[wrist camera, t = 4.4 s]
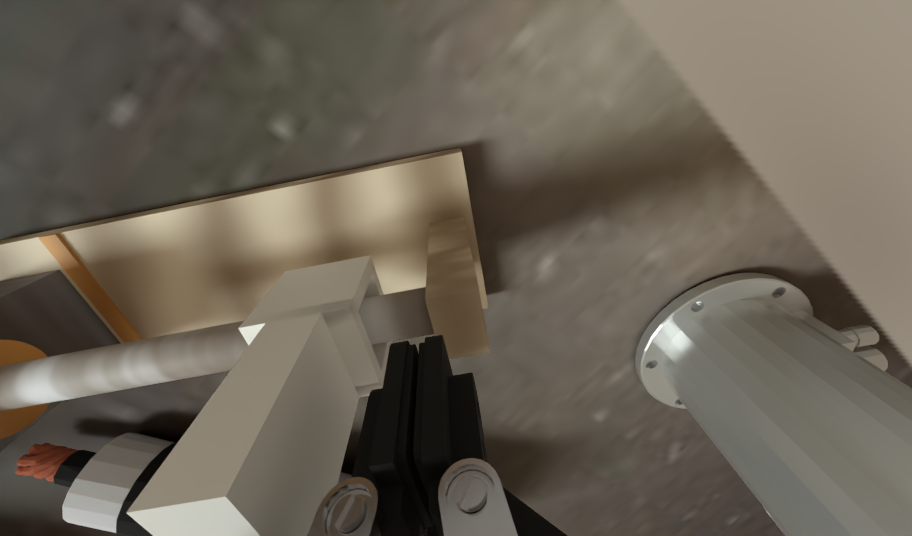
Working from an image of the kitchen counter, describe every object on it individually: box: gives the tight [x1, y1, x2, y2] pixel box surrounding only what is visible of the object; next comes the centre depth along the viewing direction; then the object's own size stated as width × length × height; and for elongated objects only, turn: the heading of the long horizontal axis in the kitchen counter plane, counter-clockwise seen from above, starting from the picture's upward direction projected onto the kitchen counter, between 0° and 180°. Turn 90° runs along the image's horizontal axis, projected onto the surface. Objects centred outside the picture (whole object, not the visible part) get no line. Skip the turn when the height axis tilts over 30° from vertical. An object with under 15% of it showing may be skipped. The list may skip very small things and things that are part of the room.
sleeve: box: [126, 255, 393, 536], centre depth 12 cm, size 4×4×10 cm
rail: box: [0, 148, 490, 451], centre depth 17 cm, size 28×10×12 cm, turn 100°
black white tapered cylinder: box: [15, 433, 439, 536], centre depth 27 cm, size 10×34×10 cm, turn 73°
